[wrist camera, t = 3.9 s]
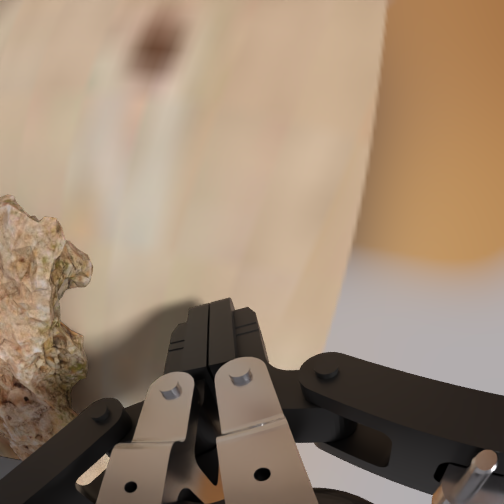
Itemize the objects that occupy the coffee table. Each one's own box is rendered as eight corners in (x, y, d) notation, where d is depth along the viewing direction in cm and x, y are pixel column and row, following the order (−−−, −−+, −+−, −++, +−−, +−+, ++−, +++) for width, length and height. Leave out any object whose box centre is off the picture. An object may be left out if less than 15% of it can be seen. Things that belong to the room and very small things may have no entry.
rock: (166, 486, 13) (23, 488, 11) (155, 423, 18) (31, 432, 15) (46, 172, 7) (-131, 237, 4) (81, 158, 11) (-75, 206, 9)
